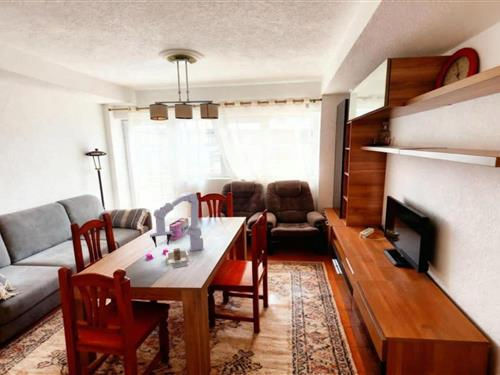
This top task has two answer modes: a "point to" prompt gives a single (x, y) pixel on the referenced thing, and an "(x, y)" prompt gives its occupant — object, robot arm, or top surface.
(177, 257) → the walnut block
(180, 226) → the gum box
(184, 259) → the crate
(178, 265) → the mat
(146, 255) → the toy block
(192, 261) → the top surface
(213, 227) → the top surface
